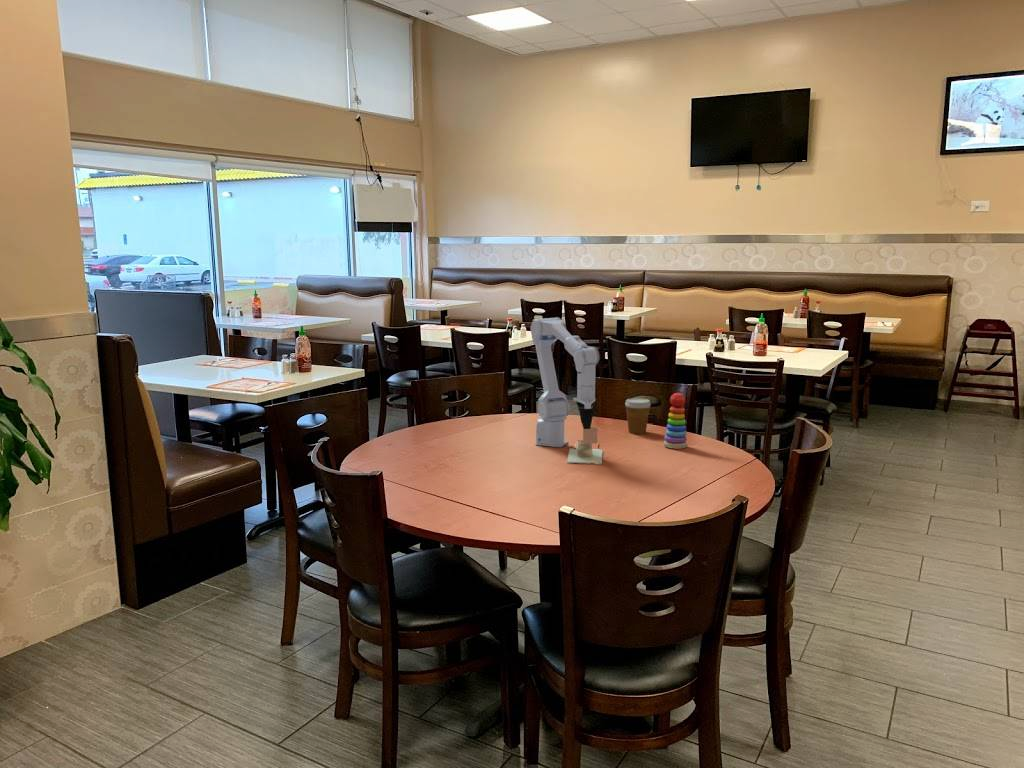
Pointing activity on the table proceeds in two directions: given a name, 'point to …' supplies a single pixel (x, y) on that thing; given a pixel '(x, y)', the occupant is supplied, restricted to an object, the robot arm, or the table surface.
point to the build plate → (594, 459)
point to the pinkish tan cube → (590, 435)
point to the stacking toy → (676, 424)
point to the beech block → (584, 449)
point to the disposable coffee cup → (637, 414)
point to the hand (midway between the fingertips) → (585, 426)
